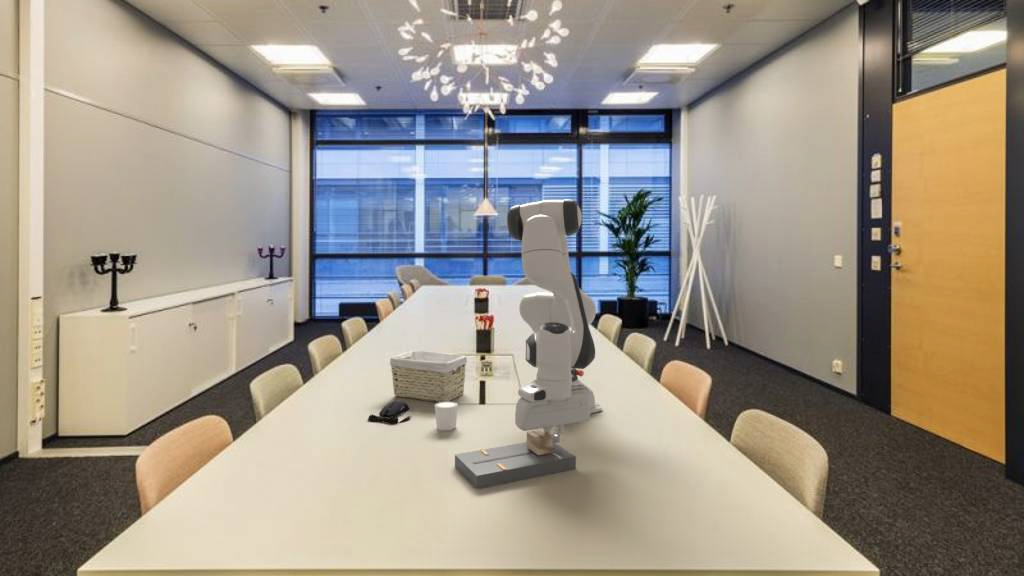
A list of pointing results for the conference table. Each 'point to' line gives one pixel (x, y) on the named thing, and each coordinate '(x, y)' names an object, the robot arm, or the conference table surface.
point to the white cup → (446, 415)
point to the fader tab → (539, 442)
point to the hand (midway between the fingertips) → (553, 442)
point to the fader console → (511, 464)
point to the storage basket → (428, 375)
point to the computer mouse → (391, 413)
